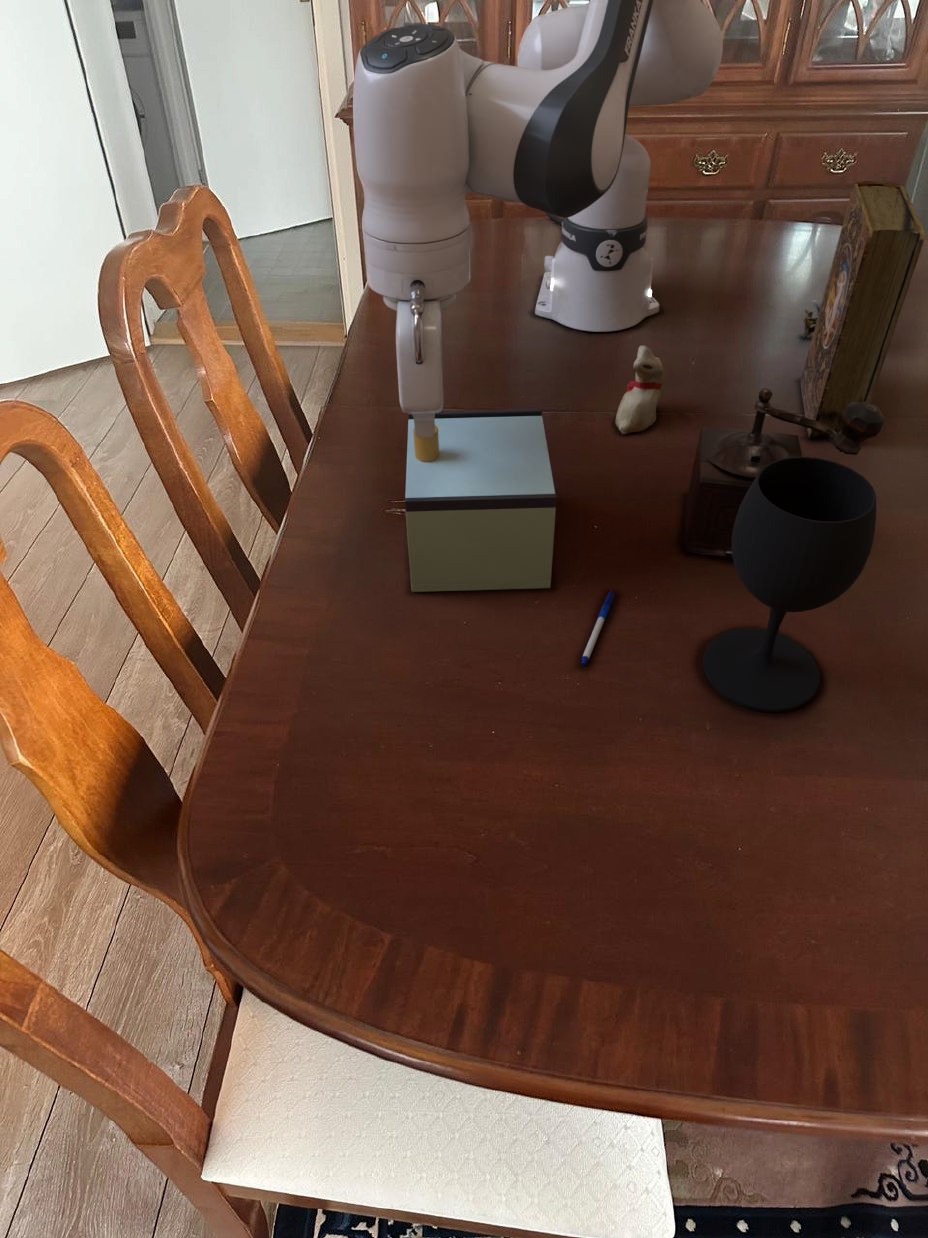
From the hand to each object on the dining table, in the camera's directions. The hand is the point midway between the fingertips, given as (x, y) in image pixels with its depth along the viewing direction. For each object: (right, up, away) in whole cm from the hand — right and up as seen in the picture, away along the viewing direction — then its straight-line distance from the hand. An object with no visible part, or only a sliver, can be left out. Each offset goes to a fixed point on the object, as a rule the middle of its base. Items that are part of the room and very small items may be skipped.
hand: (425, 406), depth 84 cm
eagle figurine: (+56, +19, +43) cm, 73 cm away
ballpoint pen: (+16, -21, +1) cm, 27 cm away
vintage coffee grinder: (+35, -11, +12) cm, 39 cm away
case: (+5, -12, +11) cm, 17 cm away
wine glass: (+31, -25, -3) cm, 40 cm away
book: (+50, +7, +30) cm, 59 cm away
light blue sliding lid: (+5, -4, +4) cm, 8 cm away
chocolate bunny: (+26, +5, +29) cm, 39 cm away
